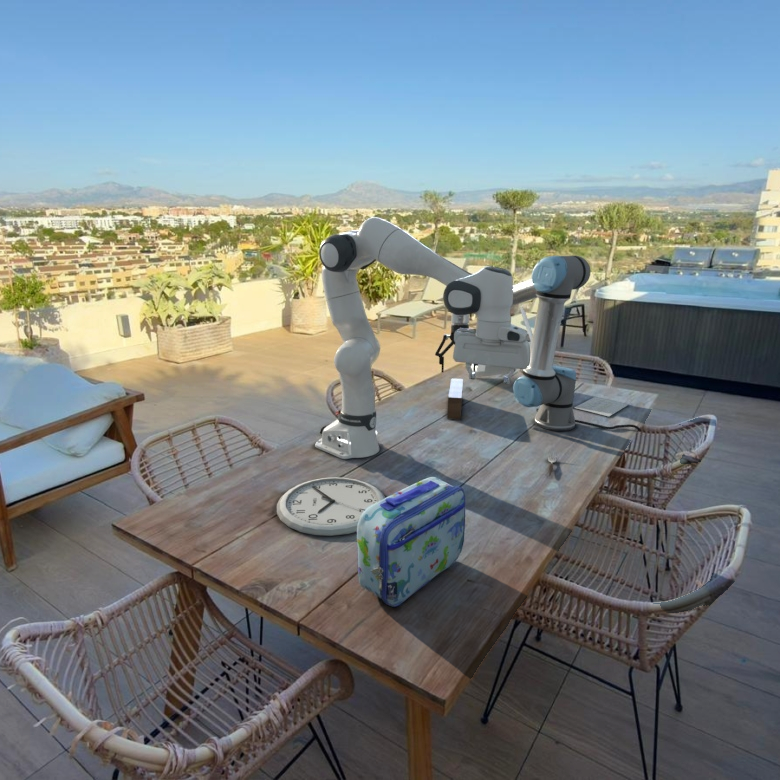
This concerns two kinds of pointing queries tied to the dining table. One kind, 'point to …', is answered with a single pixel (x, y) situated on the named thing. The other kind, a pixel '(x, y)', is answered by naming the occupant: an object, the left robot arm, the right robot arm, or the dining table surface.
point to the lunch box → (410, 539)
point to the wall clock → (327, 505)
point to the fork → (551, 462)
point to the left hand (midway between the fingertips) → (489, 381)
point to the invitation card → (601, 406)
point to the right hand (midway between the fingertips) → (458, 372)
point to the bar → (455, 399)
